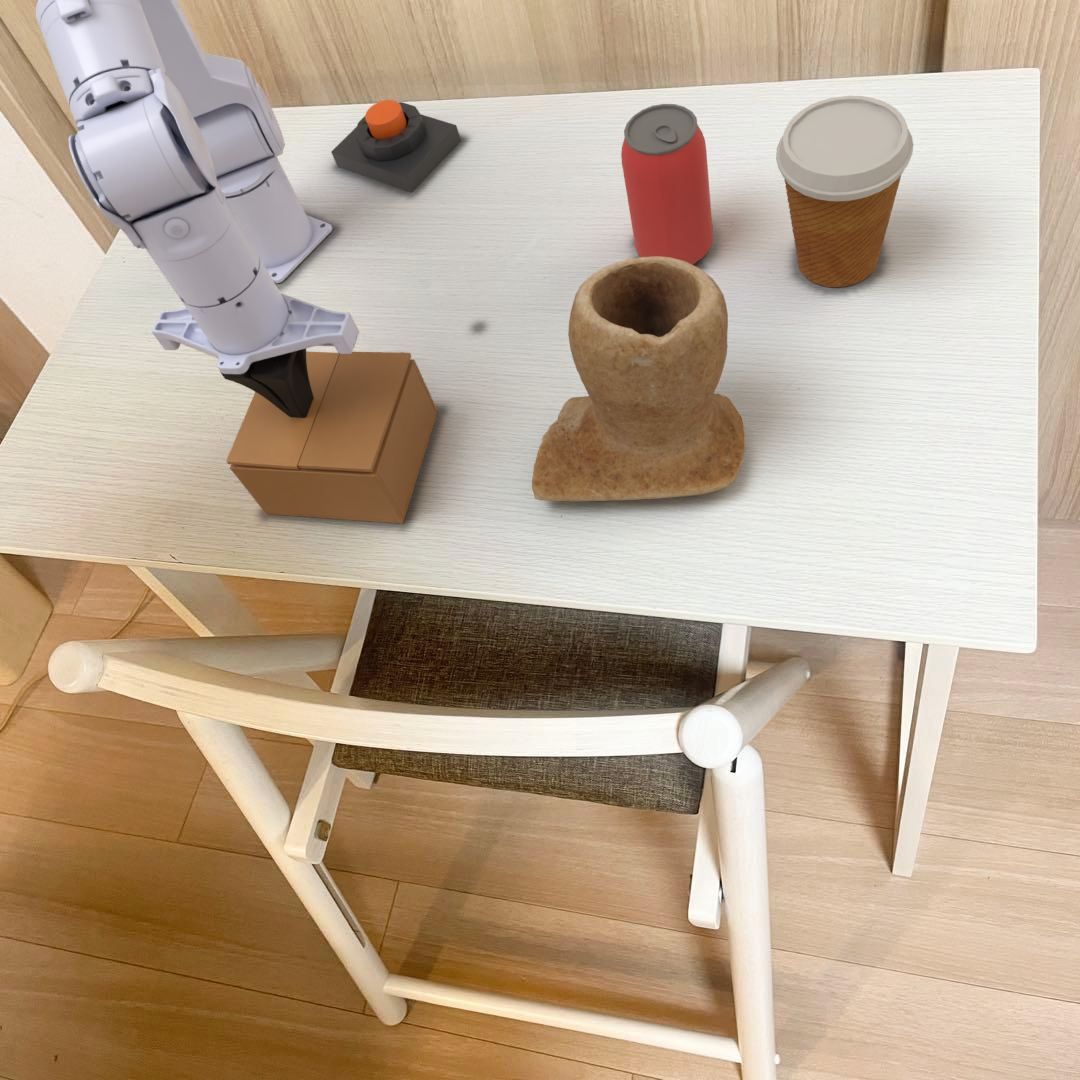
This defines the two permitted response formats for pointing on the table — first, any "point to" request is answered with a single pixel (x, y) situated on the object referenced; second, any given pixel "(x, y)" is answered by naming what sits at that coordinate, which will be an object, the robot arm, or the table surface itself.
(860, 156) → the disposable coffee cup
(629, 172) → the beer can
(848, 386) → the table surface
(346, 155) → the button box
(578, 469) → the stone cup
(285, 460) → the flap
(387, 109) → the button
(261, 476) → the carton
